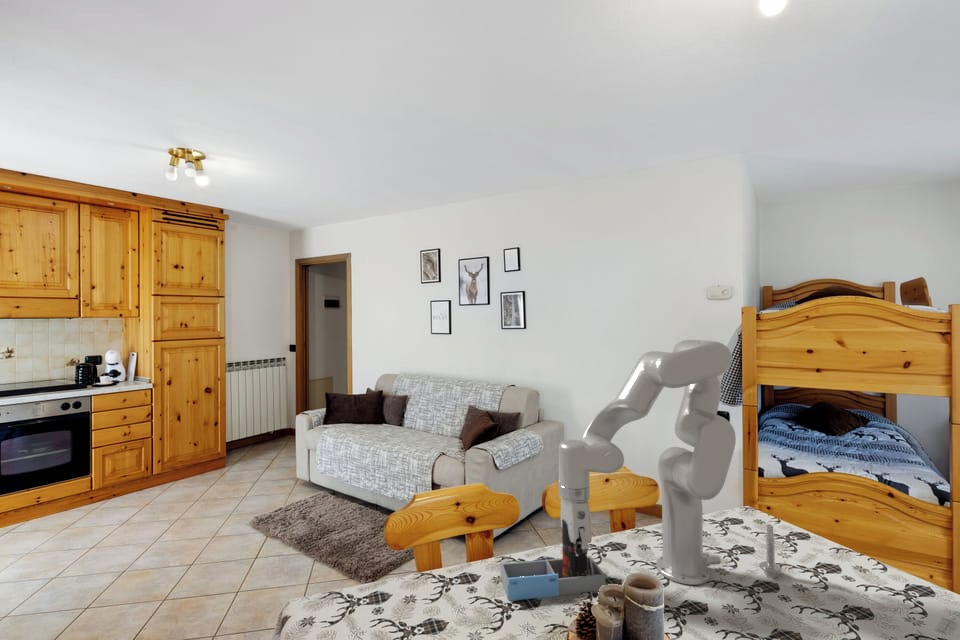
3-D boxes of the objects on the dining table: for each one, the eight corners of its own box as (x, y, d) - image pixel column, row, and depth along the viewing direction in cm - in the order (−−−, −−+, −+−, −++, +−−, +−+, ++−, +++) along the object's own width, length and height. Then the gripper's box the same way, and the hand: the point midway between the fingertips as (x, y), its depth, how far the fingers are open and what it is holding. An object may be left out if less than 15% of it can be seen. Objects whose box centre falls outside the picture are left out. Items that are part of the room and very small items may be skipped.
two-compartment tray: (590, 569, 117) (590, 550, 117) (606, 591, 108) (606, 570, 108) (500, 577, 114) (500, 557, 114) (508, 600, 104) (508, 579, 105)
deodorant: (587, 589, 109) (586, 527, 109) (562, 587, 110) (561, 525, 110) (586, 576, 114) (586, 517, 114) (562, 573, 116) (562, 515, 116)
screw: (760, 568, 117) (782, 574, 115) (758, 576, 114) (781, 583, 111) (759, 518, 118) (781, 523, 115) (758, 525, 114) (781, 530, 111)
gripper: (602, 504, 104) (603, 581, 104) (576, 478, 121) (576, 544, 121) (571, 506, 103) (572, 584, 103) (549, 480, 120) (549, 547, 120)
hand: (574, 562), depth 112 cm, fingers open, 6 cm apart
